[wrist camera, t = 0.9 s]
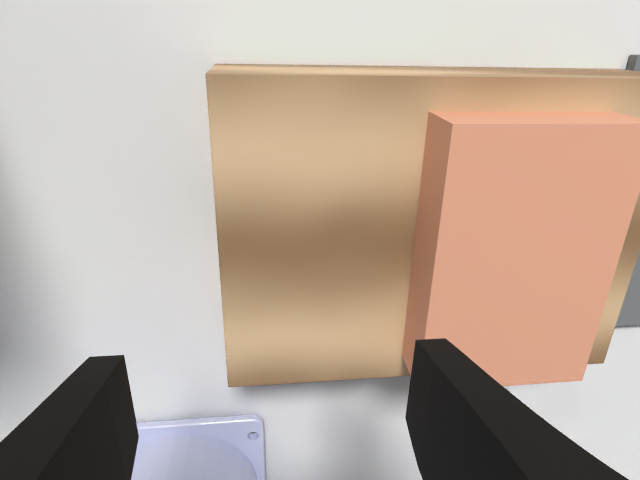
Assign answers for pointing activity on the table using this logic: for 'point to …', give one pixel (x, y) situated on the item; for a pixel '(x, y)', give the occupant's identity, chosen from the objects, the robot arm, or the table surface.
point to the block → (520, 236)
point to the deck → (352, 203)
